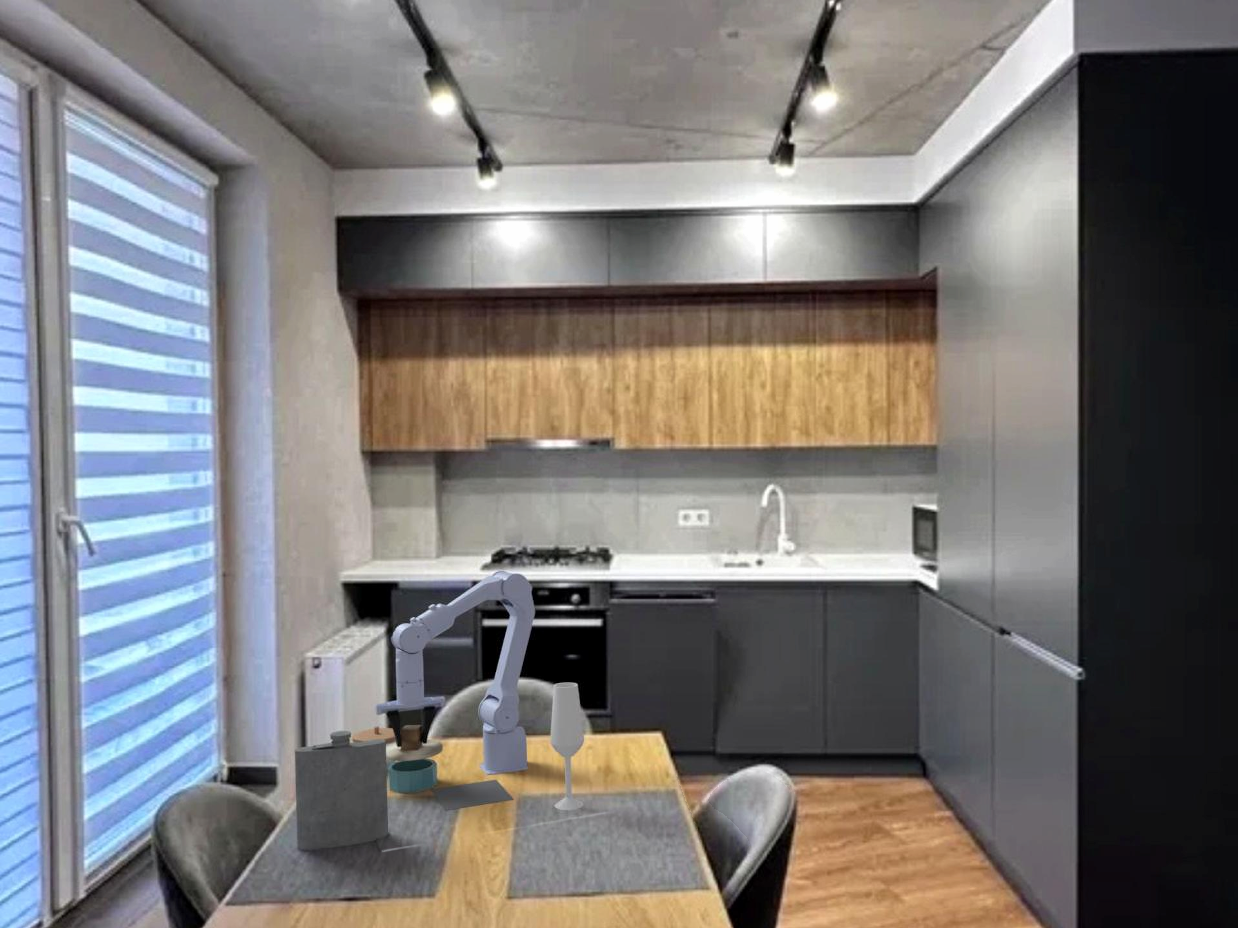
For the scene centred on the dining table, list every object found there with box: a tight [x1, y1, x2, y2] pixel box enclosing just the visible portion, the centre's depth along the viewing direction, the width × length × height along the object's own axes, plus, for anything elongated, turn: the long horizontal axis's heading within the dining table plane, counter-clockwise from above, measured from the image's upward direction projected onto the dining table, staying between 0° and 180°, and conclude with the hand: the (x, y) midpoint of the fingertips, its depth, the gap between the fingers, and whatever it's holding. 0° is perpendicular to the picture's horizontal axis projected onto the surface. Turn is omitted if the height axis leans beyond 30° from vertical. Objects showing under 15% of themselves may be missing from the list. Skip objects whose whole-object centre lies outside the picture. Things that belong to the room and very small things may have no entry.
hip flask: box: [294, 730, 389, 851], centre depth 172 cm, size 16×4×20 cm, turn 107°
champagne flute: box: [549, 682, 585, 811], centre depth 187 cm, size 7×7×24 cm
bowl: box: [387, 758, 438, 794], centre depth 203 cm, size 10×10×4 cm
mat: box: [430, 779, 515, 812], centre depth 195 cm, size 14×14×1 cm
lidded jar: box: [352, 725, 401, 771], centre depth 216 cm, size 11×11×9 cm
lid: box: [386, 724, 444, 762], centre depth 203 cm, size 13×13×5 cm
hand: (411, 744), depth 203 cm, fingers closed on lid, 5 cm apart
